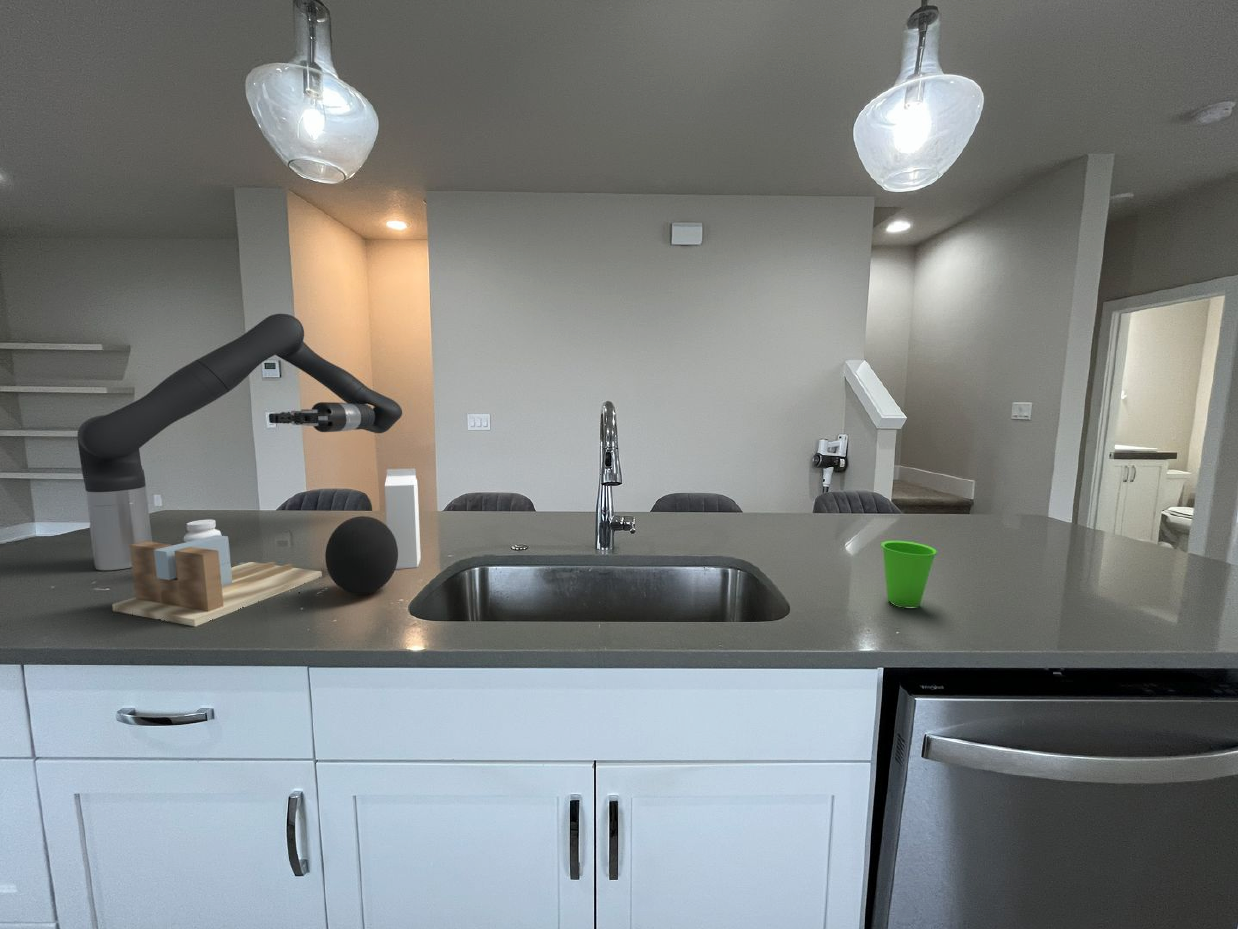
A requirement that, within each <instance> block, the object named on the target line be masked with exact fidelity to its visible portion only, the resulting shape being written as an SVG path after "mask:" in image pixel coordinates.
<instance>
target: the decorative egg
mask: <svg viewBox="0 0 1238 929" xmlns="http://www.w3.org/2000/svg"><path fill="white" fill-rule="evenodd" d="M324 559H325V566H326V569H327V572H328V575H329V577H330V579H331V580H332V581H333V582H334V583H335V585H336V586H337V587H339V589H341V590H343V591H345V592H347V593H350V594H353V595H368V594H372V593H374V592H376V591H378V590H380V589H382V588H383V587H384V586H385V585H386V584H388V582H389V581H390V579H391V578H392V577H393V575H394V573H395V570H397V569H396V565H397V561H398V547H397V543H396V540H395V537H394V535H393V533H392V532H391V530H390V529H389V528H388V527H387V524H385V523H384V522H382V521H381V520H379V519H378V518H375V517H371V516H366V515H365V516H364V515H361V516H355V517H351V518H349V519H346V520H345V521H343V522H342V523H340V524H339V525H337V527H336V528H335V529H334V531H332V533H331V534H330V536H329V539H328V541H327V544H326V548H325V555H324Z"/></svg>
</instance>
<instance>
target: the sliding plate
mask: <svg viewBox="0 0 1238 929" xmlns="http://www.w3.org/2000/svg"><path fill="white" fill-rule="evenodd" d="M188 547H194V548H202V549H210V550H218V553H219V564H220V574H221V584H222V586H224V585H227V584H230V583H232V574H231V568H232V564H231V554H230V552H231V551H230V543H229V536H226V535H221V536H220V535H215V536H211V537H206V538H202V539H198V540H194V541H190V542H185V543H184V542H182V543H177V544H173V545H172V546H169V547H165V548H160V549H156V550H154V555H155V563H156V572H157V578H160V579H166V580H171V579H174V578H177V569H176V560H175V551H176V550H180V549H184V548H188Z"/></svg>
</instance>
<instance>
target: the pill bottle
mask: <svg viewBox="0 0 1238 929" xmlns="http://www.w3.org/2000/svg"><path fill="white" fill-rule="evenodd" d="M216 523H217V522H216V520H215V519H200V520H193V521H190V522H187V523H186V529H187V531H188V532H187V533H185V535H184V536H183V543H185V542H190V541H194V540H198V539H202V538H206V537H211V536H215V535H220V536H222V533H221V531H220V530H219V529H216V525H217V524H216Z"/></svg>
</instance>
